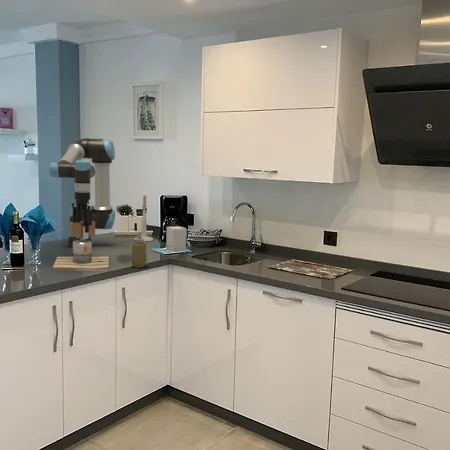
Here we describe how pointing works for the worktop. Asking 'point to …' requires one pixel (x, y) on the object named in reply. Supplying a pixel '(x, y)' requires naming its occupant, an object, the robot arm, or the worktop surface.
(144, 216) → the candlestick
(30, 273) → the worktop surface
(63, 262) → the base
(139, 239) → the squeeze bottle
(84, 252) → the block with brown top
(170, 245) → the supplement box
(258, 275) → the worktop surface
